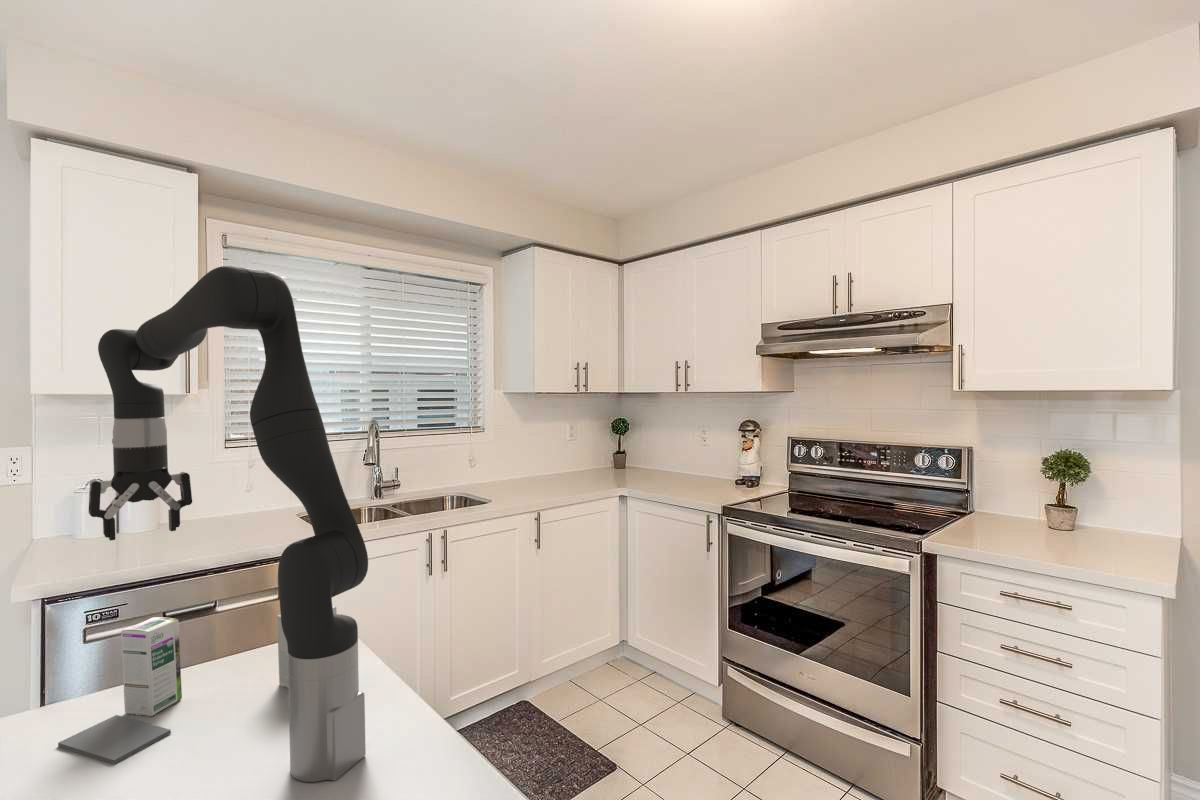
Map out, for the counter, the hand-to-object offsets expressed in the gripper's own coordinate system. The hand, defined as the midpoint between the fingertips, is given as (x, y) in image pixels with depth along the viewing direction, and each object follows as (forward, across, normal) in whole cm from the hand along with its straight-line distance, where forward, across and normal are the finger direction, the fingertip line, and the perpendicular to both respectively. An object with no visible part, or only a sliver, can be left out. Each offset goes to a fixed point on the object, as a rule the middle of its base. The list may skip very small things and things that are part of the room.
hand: (143, 534), depth 103 cm
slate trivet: (+29, -6, -13) cm, 32 cm away
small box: (+29, +22, -15) cm, 39 cm away
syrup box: (+29, 0, -5) cm, 30 cm away
